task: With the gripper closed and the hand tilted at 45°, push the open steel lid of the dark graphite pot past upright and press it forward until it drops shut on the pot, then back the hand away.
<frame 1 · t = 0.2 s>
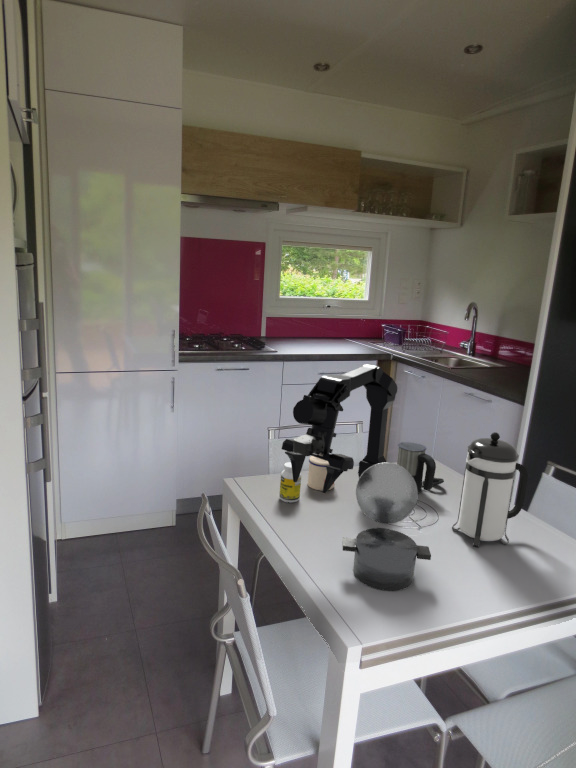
hand: (309, 487, 135), 16 cm above the table, tool pointing down, fingers open, 9 cm apart
pot lid: (386, 492, 134), point 16 cm above the table, hinge at 100.0°
steel pot: (382, 573, 127), on the table
milk frother: (417, 488, 180), on the table
pill bottle: (289, 499, 164), on the table
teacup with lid: (322, 484, 177), on the table
coffee press: (482, 536, 149), on the table
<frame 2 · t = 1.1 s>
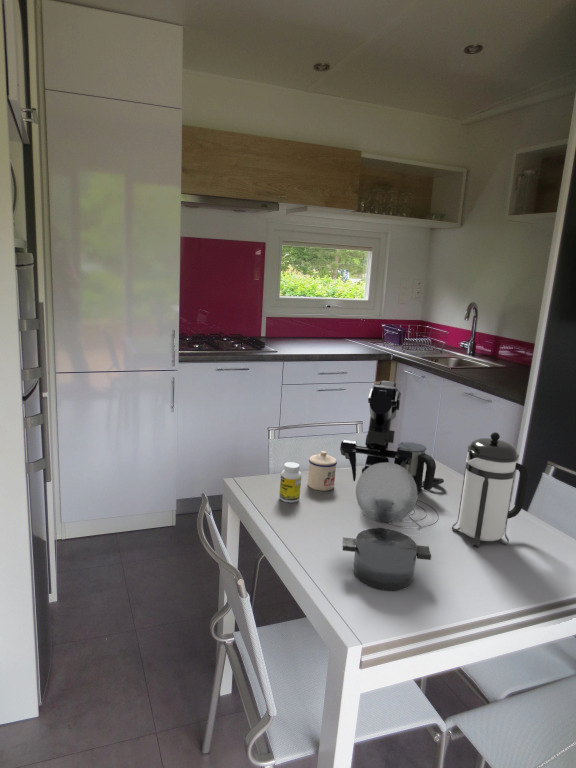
hand: (371, 483, 141), 15 cm above the table, tool tilted 35°, fingers open, 9 cm apart
pot lid: (386, 492, 134), point 16 cm above the table, hinge at 103.0°
everything else where it was.
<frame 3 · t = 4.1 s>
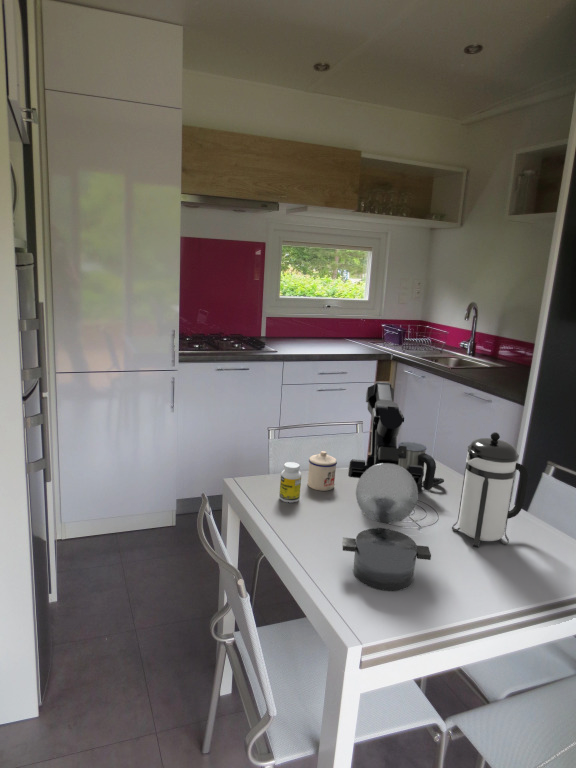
hand: (384, 502, 135), 13 cm above the table, tool tilted 45°, fingers closed, pressing on pot lid
pot lid: (386, 492, 133), point 16 cm above the table, hinge at 97.2°, touching gripper
everything else where it was.
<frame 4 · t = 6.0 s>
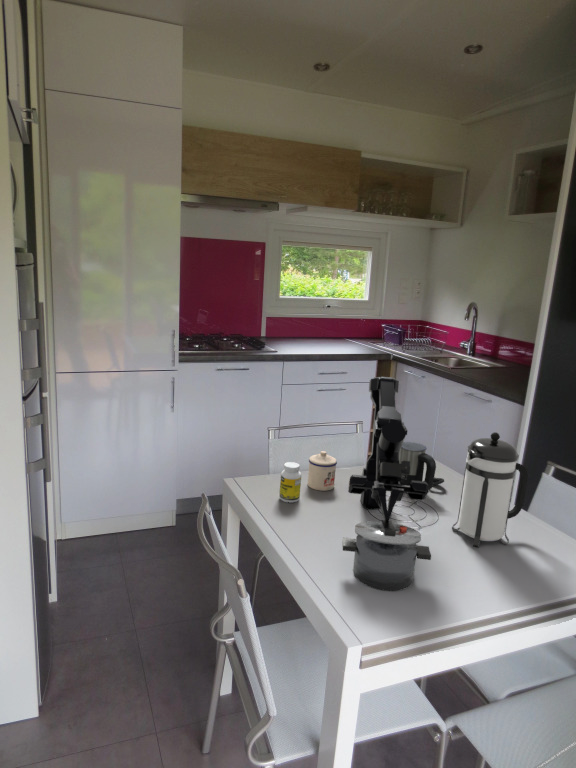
hand: (387, 521, 127), 12 cm above the table, tool tilted 45°, fingers closed, pressing on pot lid
pot lid: (387, 529, 125), point 11 cm above the table, hinge at 11.6°, touching gripper
everything else where it was.
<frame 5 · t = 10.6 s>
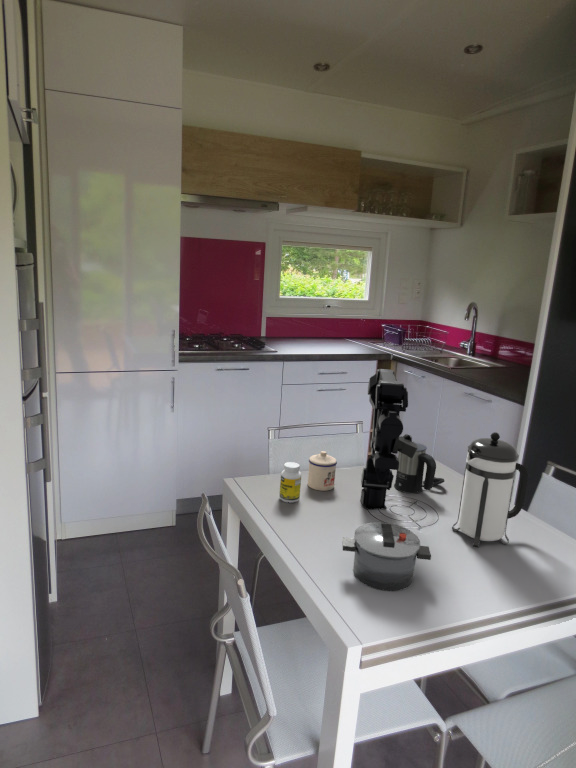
hand: (380, 482, 148), 13 cm above the table, tool pointing down, fingers closed
pot lid: (387, 537, 125), point 9 cm above the table, hinge at -0.1°
everything else where it was.
at the end: pot lid at +0° (first picture: +100°) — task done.
